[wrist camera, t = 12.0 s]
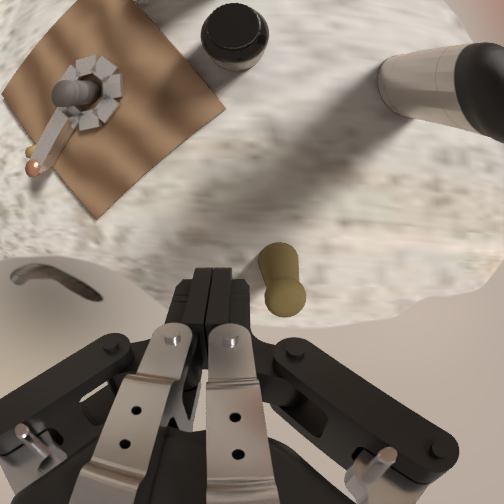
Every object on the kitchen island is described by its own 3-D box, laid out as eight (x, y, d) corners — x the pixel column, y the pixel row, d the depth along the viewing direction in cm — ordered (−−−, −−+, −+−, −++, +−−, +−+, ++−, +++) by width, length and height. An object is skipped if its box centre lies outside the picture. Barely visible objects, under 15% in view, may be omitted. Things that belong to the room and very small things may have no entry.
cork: (301, 272, 47) (314, 318, 37) (263, 281, 47) (267, 329, 38) (294, 238, 44) (307, 279, 34) (253, 247, 45) (256, 291, 35)
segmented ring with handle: (89, 44, 28) (72, 40, 24) (138, 82, 31) (125, 81, 27) (25, 149, 34) (8, 155, 30) (66, 187, 37) (50, 197, 33)
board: (110, -23, 24) (82, -43, 16) (226, 108, 35) (220, 110, 27) (7, 93, 31) (-30, 99, 23) (100, 215, 42) (73, 242, 34)
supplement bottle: (205, 29, 30) (189, 1, 19) (259, 20, 30) (265, -12, 19) (214, 76, 33) (201, 65, 23) (268, 67, 33) (278, 52, 22)
